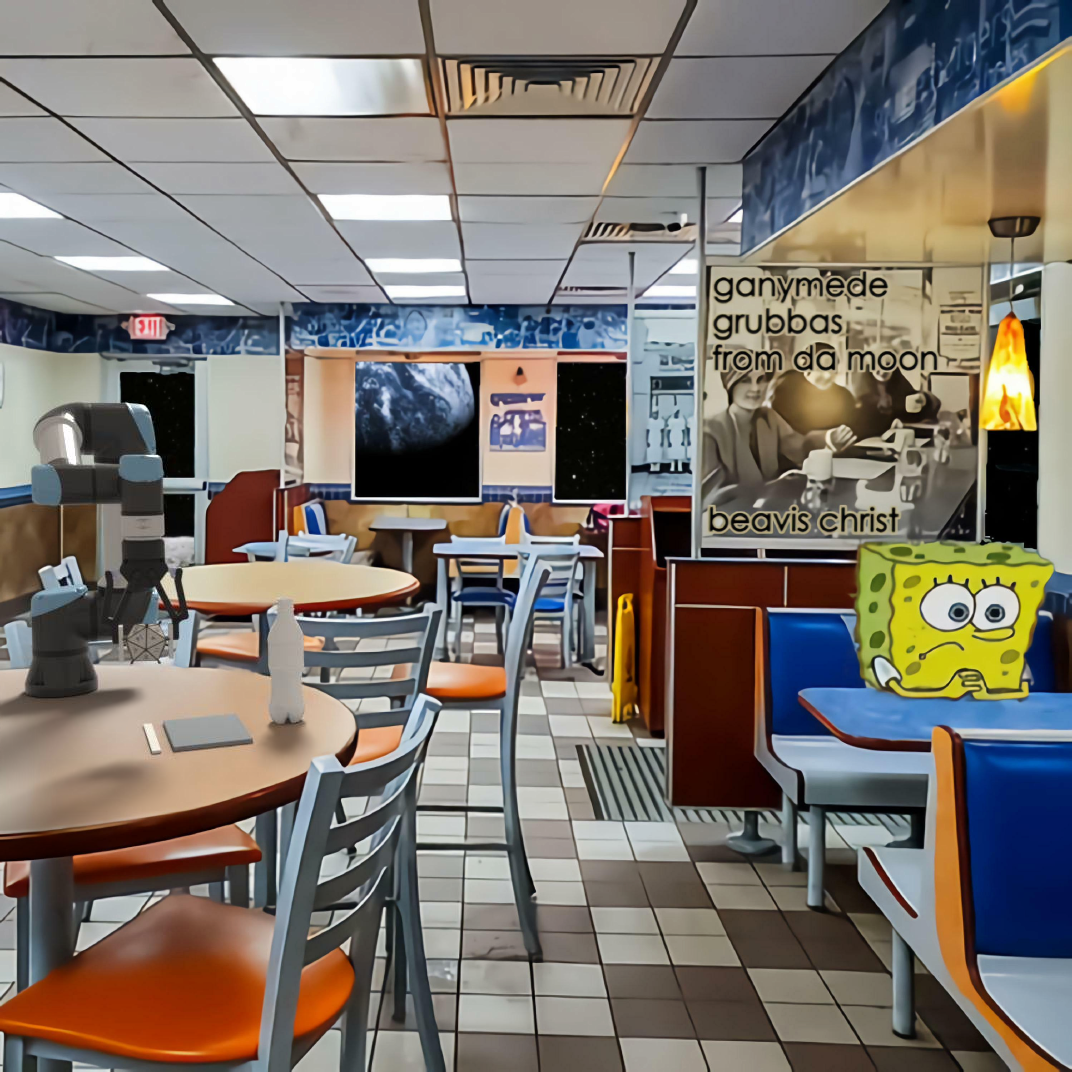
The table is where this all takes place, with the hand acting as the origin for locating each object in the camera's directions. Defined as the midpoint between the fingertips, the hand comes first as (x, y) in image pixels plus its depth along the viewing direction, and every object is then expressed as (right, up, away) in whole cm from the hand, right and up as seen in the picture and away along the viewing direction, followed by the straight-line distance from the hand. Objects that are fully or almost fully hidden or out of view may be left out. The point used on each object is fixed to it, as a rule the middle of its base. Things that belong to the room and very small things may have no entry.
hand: (146, 658), depth 197 cm
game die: (0, -1, 0) cm, 1 cm away
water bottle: (+23, -15, +16) cm, 31 cm away
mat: (+9, -15, +6) cm, 19 cm away
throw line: (0, -15, +2) cm, 16 cm away
